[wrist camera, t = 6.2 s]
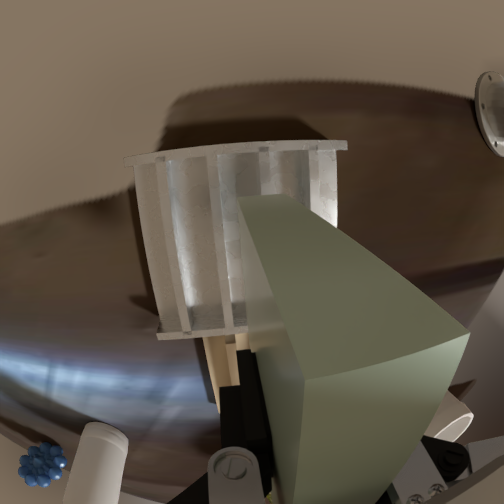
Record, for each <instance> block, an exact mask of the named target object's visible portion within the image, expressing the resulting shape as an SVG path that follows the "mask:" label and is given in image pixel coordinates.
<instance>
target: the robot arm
mask: <svg viewBox="0 0 504 504" xmlns="http://www.w3.org/2000/svg"><path fill="white" fill-rule="evenodd" d="M475 109H476V115H477V120H478V124H479V127H480V130H481V133H482V135H483V137H484V139H485V141H486V143H487V145H488V146H489V148H490V149H491V150H492V151H493V152H494V153H495V154H496V155H498V156H501V157H504V77H503V76H501V75H500V74H499V73H496V72H485V73H483V74H482V75H481V76H480V77H479V78H478V81H477V83H476V88H475ZM236 356H237V365H238V374H239V383H240V385H234V386H224V387H219V400H220V423H221V443H222V449H221V450H219V451H217V452H216V453H215V454H214V455H212V457H211V458H210V460H209V463H208V472H207V473H205V474H204V475H203V476H202V477H201V478H199V479H198V480H197V481H196V482H194V483H193V484H192V485H191V486H189V487H188V488H187V489H185V490H184V491H183V492H182V493H180V494H179V495H178V496H176V497H175V498H174V499H172V500H171V501H169V502H168V503H167V504H265V499H264V498H265V497H266V496H267V495H268V494H269V493H270V492H271V491H272V478H273V477H274V475H273V449H272V435H271V429H270V424H269V419H268V414H267V409H266V404H265V399H264V394H263V389H262V384H261V379H260V374H259V369H258V363H257V358H256V353H255V352H252V353H251V349H244V350H236ZM375 504H504V436H500V437H496V438H492V439H487V440H483V441H477V442H472V443H468V444H467V445H466V446H462V445H461V444H458V443H454V442H450V441H446V440H441V439H437V438H433V437H429V436H425V435H423V437H422V438H421V440H420V441H419V443H418V445H417V446H416V448H415V450H414V451H413V453H412V454H411V456H410V457H409V459H408V460H407V462H406V463H405V465H404V466H403V468H402V469H401V470H400V472H399V473H398V475H397V476H396V477H395V479H394V480H393V481H392V483H391V484H390V485H389V487H388V488H387V489H386V491H385V492H384V493H383V494H382V496H381V497H380V498H379V499H378V501H377V502H376V503H375Z"/></svg>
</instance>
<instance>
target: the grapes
mask: <svg viewBox="0 0 504 504" xmlns="http://www.w3.org/2000/svg"><path fill="white" fill-rule="evenodd" d="M62 454H63V449H62V448H61V447H60V446H52V445H51V444H50V443H48V442H44V443H41V445H40V447H36V446H31V447H29V449H28V455H29V456H28V455H23V456H21V457H20V460H19V461H20V464H21V465H22V466H21V467H19V469H18V474H19V475H20V477H22V478H25V483H26V484H27V485H29V486H36V485H37V484H38V485H39V486H41V487H48V486H49V485H50V482H51V480H50V478H51V479H53V480H58V479H60V478H61V476H62V471H61V469H60V468H63V467H65V466H66V464H67V459H66V458H65V457H64V456H62Z"/></svg>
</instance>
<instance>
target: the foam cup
mask: <svg viewBox="0 0 504 504" xmlns="http://www.w3.org/2000/svg"><path fill="white" fill-rule="evenodd" d="M473 416H474V415H473V414H472V413H471V412H470V410H469V409H468V408H467V406H466V405H465V404H464V403H461V402H460V401H459V400H458V399H457V398H455V397H454V396H453V395H452V394H451V393H450V392H449V391H447V392H446V394H445V396H444V398H443V400H442V402H441V404H440V406H439V408H438V410H437V412H436V413H435V415H434V417H433V419H432V421H431V423H430V424H429V426H428V428H427V430H426V431H425V433H424V435H425V436H429V437H433V438H437V439H441V440H446V441H450V442H454V441H455V440H456V439H457V438H458V437H459V436H460V435H461V434H462V433H463V432H464V431H465V430H466V429H467V427H468V426H469V425H470V423H471V422H472V419H473Z"/></svg>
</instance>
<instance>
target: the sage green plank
mask: <svg viewBox="0 0 504 504" xmlns="http://www.w3.org/2000/svg"><path fill="white" fill-rule="evenodd" d="M237 210H238V222H239V234H240V246H241V257H242V269H243V280H244V291H245V302H246V313H247V324H248V335H249V346H250V349H251V353H252V352H255V353H256V358H257V363H258V369H259V374H260V379H261V384H262V389H263V394H264V399H265V404H266V409H267V414H268V419H269V424H270V429H271V435H272V449H273V475H274V477H273V478H272V491H271V497H272V503H273V504H375V503H376V502H377V501H378V499H379V498H380V497H381V496H382V494H383V493H384V492H385V491H386V489H387V488H388V487H389V485H390V484H391V483H392V481H393V480H394V479H395V477H396V476H397V475H398V473H399V472H400V470H401V469H402V468H403V466H404V465H405V463H406V462H407V460H408V459H409V457H410V456H411V454H412V453H413V451H414V450H415V448H416V446H417V445H418V443H419V441H420V440H421V438H422V437H423V435H424V433H425V431H426V430H427V428H428V426H429V424H430V423H431V421H432V419H433V417H434V415H435V413H436V412H437V410H438V408H439V406H440V404H441V402H442V400H443V398H444V396H445V394H446V392H447V389H448V387H449V385H450V383H451V380H452V378H453V376H454V374H455V372H456V369H457V367H458V364H459V362H460V359H461V357H462V354H463V351H464V349H465V346H466V344H467V341H468V338H469V335H470V332H469V331H468V330H467V329H466V328H465V327H463V326H462V325H461V324H460V323H459V322H458V321H456V320H455V319H454V318H453V317H452V316H451V315H449V314H448V313H447V312H446V311H445V310H444V309H442V308H441V307H440V306H439V305H437V304H436V303H435V302H434V301H433V300H431V299H430V298H429V297H428V296H427V295H425V294H424V293H423V292H422V291H420V290H419V289H418V288H417V287H415V286H414V285H413V284H411V283H410V282H409V281H408V280H406V279H405V278H404V277H403V276H401V275H400V274H399V273H397V272H396V271H395V270H393V269H392V268H391V267H390V266H388V265H387V264H386V263H384V262H383V261H382V260H380V259H379V258H378V257H376V256H375V255H374V254H372V253H371V252H369V251H368V250H367V249H365V248H364V247H363V246H361V245H360V244H358V243H357V242H356V241H354V240H353V239H352V238H350V237H349V236H347V235H346V234H345V233H343V232H342V231H340V230H339V229H337V228H336V227H335V226H333V225H332V224H330V223H329V222H327V221H326V220H324V219H323V218H322V217H320V216H319V215H317V214H316V213H314V212H313V211H311V210H310V209H308V208H307V207H305V206H304V205H302V204H301V203H299V202H298V201H296V200H295V199H293V198H292V197H290V196H289V195H287V194H285V193H284V194H270V195H257V196H246V197H237Z"/></svg>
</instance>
